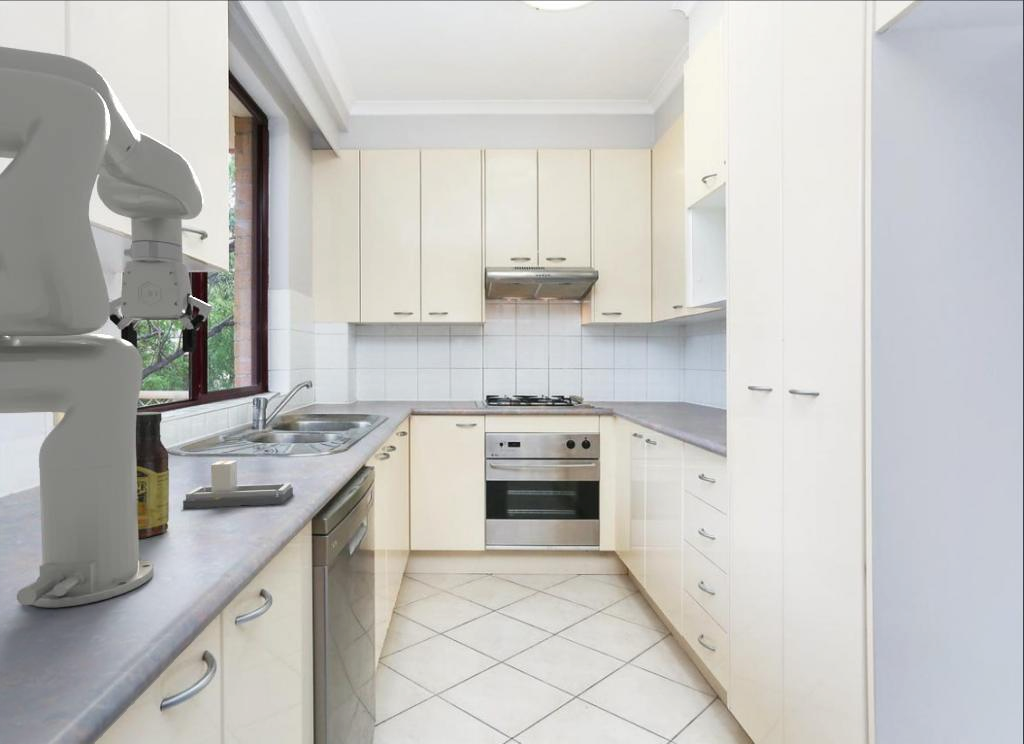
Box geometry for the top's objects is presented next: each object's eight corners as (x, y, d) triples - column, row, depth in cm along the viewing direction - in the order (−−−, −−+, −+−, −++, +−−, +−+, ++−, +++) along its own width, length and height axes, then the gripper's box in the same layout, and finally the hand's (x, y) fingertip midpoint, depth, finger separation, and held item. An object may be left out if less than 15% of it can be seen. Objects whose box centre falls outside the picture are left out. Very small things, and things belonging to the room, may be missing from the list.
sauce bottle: (113, 537, 86) (110, 413, 85) (152, 526, 92) (149, 410, 91) (141, 542, 84) (138, 415, 83) (179, 530, 89) (176, 411, 89)
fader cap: (230, 494, 106) (230, 463, 106) (211, 495, 105) (210, 464, 105) (237, 490, 109) (236, 460, 109) (218, 490, 109) (218, 460, 108)
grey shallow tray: (282, 504, 105) (282, 491, 105) (183, 508, 102) (182, 495, 102) (292, 493, 113) (292, 482, 113) (201, 497, 110) (200, 485, 110)
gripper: (90, 250, 91) (93, 352, 91) (200, 252, 93) (202, 351, 93) (117, 259, 98) (119, 353, 98) (218, 261, 100) (219, 352, 101)
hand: (159, 352), depth 96 cm, fingers open, 9 cm apart
